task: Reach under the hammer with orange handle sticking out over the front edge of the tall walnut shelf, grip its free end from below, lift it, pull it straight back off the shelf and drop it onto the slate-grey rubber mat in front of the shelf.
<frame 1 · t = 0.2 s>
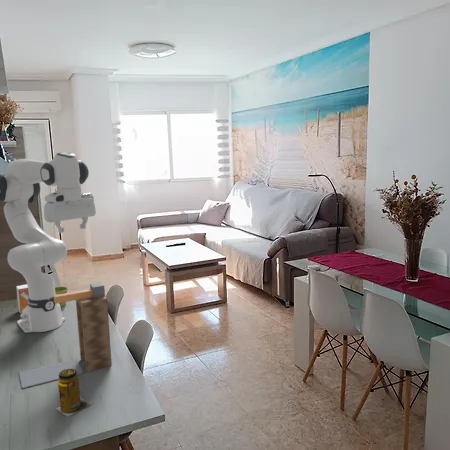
hand: (72, 230, 173), 48 cm above the table, tool pointing down, fingers open, 8 cm apart
hammer with orange handle: (79, 298, 160), point 26 cm above the table, touching walnut shelf
grey mat: (50, 373, 159), on the table
walnut shelf: (95, 362, 167), on the table
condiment: (73, 407, 139), on the table
small box: (28, 311, 221), on the table
plant pot: (59, 305, 228), on the table
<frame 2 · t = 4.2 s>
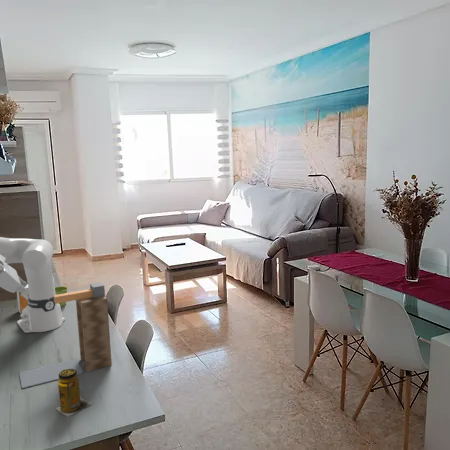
hand: (27, 289, 151), 32 cm above the table, tool tilted 45°, fingers open, 8 cm apart
nothing on the table moved.
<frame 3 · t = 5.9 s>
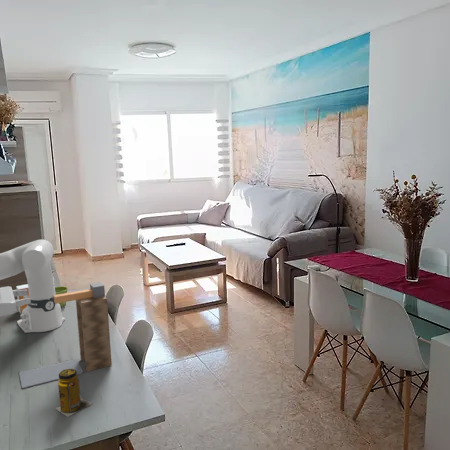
hand: (28, 296, 152), 30 cm above the table, tool horizontal, fingers open, 8 cm apart
nothing on the table moved.
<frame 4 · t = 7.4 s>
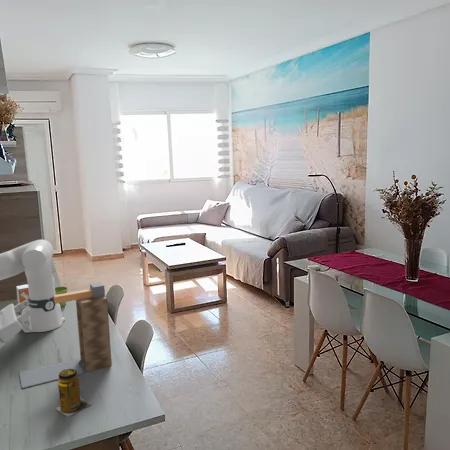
hand: (29, 305, 152), 26 cm above the table, tool pointing upward, fingers open, 8 cm apart
nothing on the table moved.
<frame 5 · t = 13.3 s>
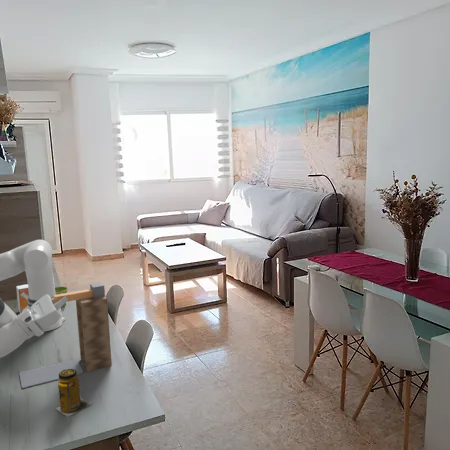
hand: (65, 296, 158), 28 cm above the table, tool pointing upward, fingers closed on hammer with orange handle, 2 cm apart
hammer with orange handle: (79, 298, 160), point 26 cm above the table, touching gripper, walnut shelf
everything else where it was.
when the fingers open (19 cm above the table, at t = 19.8 s): hammer with orange handle drops 17 cm, resting on grey mat.
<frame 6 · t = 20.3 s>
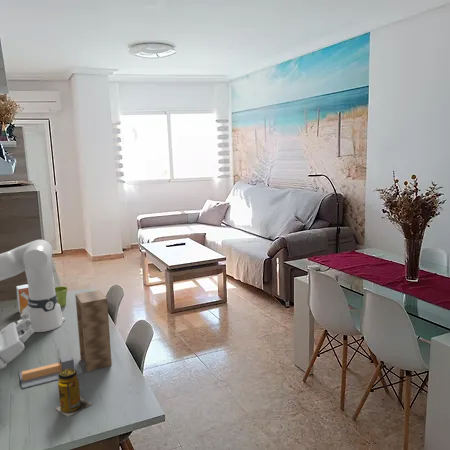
hand: (31, 325, 154), 19 cm above the table, tool pointing upward, fingers open, 7 cm apart
hammer with orange handle: (48, 372, 159), resting on grey mat
everything else where it was.
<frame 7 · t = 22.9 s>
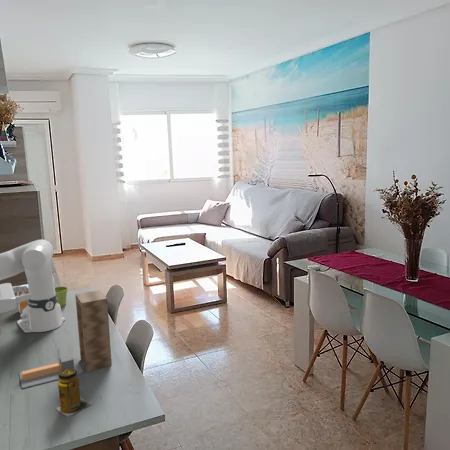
hand: (28, 292, 152), 31 cm above the table, tool horizontal, fingers open, 8 cm apart
nothing on the table moved.
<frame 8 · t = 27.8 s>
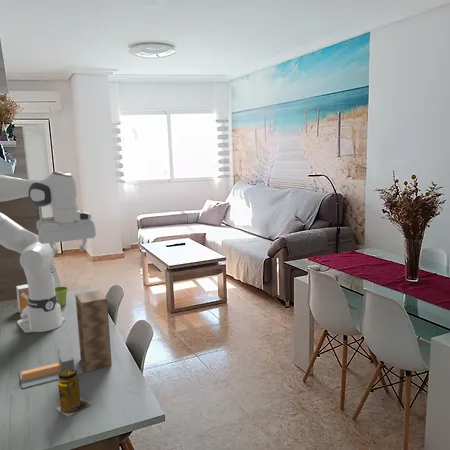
hand: (69, 252, 166), 41 cm above the table, tool pointing down, fingers open, 8 cm apart
nothing on the table moved.
at the end: hammer with orange handle 0.8 cm from the grey mat (horizontally); hammer with orange handle resting on grey mat; the gripper is holding nothing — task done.
